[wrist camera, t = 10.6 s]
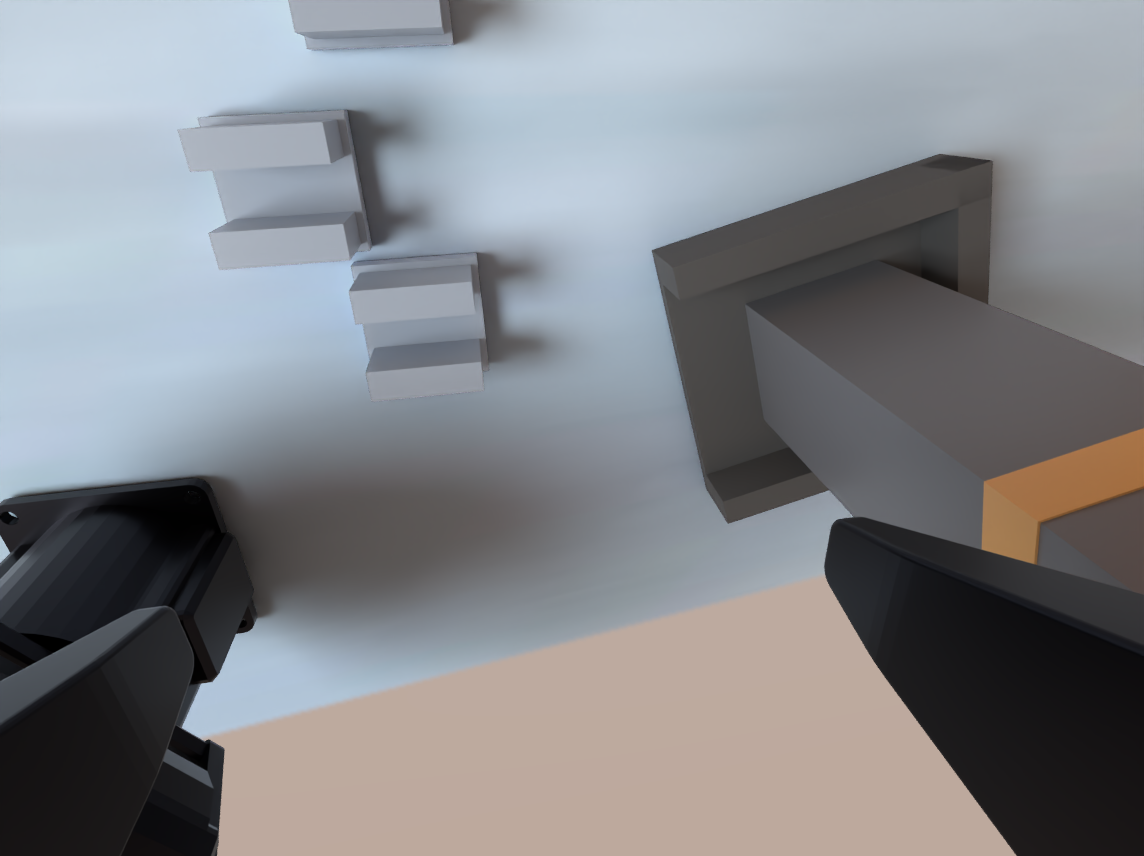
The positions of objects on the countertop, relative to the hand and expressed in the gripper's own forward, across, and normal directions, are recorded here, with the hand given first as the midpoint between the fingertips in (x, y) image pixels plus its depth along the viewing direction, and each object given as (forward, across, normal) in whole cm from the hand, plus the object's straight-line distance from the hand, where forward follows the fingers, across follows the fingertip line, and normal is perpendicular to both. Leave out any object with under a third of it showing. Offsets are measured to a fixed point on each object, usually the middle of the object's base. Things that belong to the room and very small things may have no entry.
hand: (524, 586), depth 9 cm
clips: (+13, -3, +4) cm, 14 cm away
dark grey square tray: (+13, +11, -2) cm, 17 cm away
